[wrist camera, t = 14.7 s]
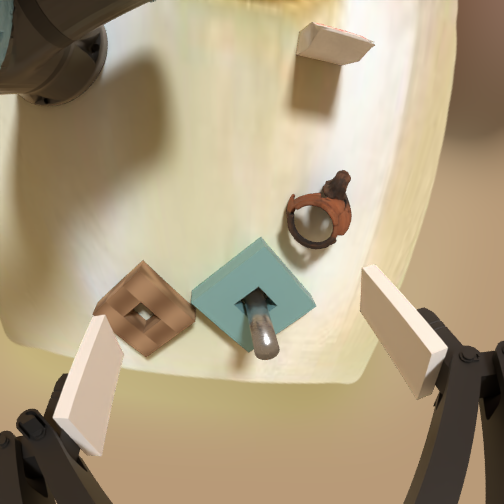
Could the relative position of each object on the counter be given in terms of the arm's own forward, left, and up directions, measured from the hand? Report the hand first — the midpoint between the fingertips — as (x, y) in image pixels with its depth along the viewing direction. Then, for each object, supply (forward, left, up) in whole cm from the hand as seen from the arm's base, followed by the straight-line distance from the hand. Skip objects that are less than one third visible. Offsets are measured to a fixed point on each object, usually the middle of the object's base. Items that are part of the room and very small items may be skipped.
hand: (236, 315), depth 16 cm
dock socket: (+18, -8, -32) cm, 37 cm away
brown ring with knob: (+12, +9, -32) cm, 35 cm away
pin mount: (+8, -23, -32) cm, 40 cm away
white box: (-6, +23, -32) cm, 40 cm away
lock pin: (+18, -8, -32) cm, 37 cm away
